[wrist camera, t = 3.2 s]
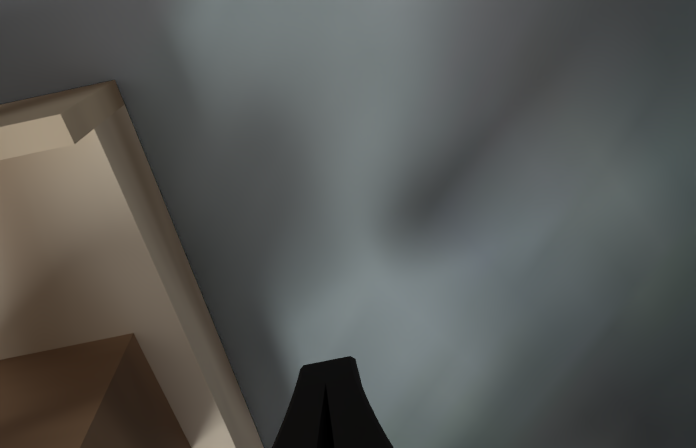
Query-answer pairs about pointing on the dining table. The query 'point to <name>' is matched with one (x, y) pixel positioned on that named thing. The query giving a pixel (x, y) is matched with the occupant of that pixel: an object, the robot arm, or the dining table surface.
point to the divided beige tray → (105, 257)
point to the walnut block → (86, 399)
